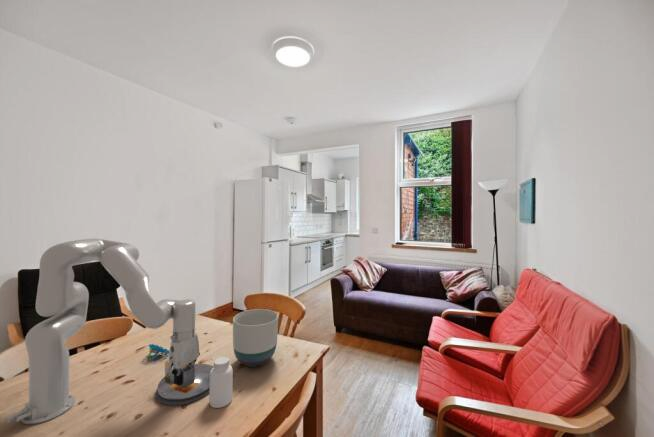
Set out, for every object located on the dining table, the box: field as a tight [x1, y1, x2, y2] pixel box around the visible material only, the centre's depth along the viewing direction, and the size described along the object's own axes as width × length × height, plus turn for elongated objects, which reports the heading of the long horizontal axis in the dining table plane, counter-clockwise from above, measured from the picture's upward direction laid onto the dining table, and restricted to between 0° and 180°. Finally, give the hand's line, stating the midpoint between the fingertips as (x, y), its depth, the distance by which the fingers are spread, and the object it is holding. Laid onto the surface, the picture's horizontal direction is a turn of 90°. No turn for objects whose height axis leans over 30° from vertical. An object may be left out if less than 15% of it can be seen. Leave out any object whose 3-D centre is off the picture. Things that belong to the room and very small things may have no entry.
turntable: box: [157, 359, 214, 401], centre depth 104 cm, size 21×21×9 cm
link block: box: [172, 364, 195, 388], centre depth 100 cm, size 7×4×6 cm, turn 67°
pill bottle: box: [208, 356, 234, 409], centre depth 96 cm, size 8×8×15 cm
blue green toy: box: [147, 343, 170, 361], centre depth 124 cm, size 11×6×10 cm
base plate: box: [155, 387, 210, 407], centre depth 104 cm, size 22×22×1 cm
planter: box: [232, 308, 279, 368], centre depth 122 cm, size 20×20×21 cm
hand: (183, 380), depth 100 cm, fingers closed on link block, 4 cm apart
